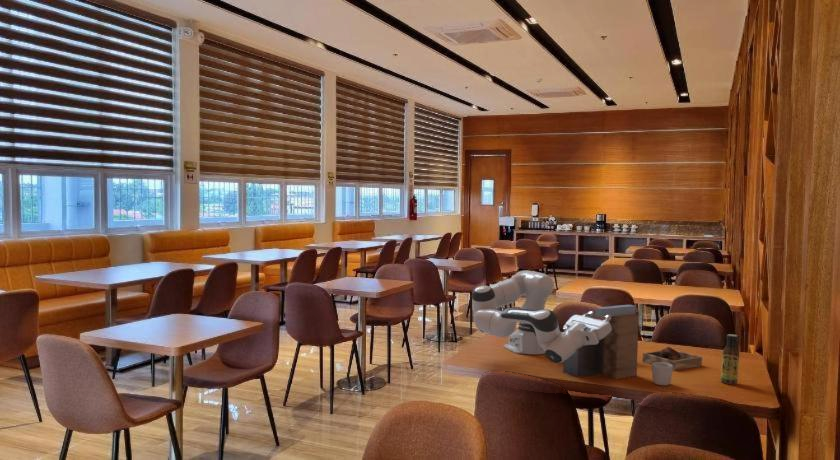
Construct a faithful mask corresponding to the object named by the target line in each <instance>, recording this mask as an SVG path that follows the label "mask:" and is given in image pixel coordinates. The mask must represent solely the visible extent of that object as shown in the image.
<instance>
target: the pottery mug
mask: <svg viewBox="0 0 840 460" xmlns="http://www.w3.org/2000/svg"><path fill="white" fill-rule="evenodd" d="M675 350H676V349H673V348H672V347H671V346H666V347H665V348H663V349H661V350H659V351H660V353H659V355H658V357H661V358H665V359H670V358H669V357H670V353H671V355H673V356H675V357H676V358H678V360H680V357H681V355H680V354H679V353H678V352H677V351H678V350H676V351H675Z"/></svg>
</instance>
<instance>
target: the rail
mask: <svg viewBox="0 0 840 460" xmlns="http://www.w3.org/2000/svg"><path fill="white" fill-rule="evenodd" d="M636 309H637V307H636V305H633V304H621V305H620V304H619V305H612V306H611V305H610V306H600V307H594V317H597V318H605V316H606V315H610V316H611V317H612V316H621V315H631V314H636Z"/></svg>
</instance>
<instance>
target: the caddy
mask: <svg viewBox="0 0 840 460" xmlns="http://www.w3.org/2000/svg"><path fill="white" fill-rule="evenodd" d="M674 350H675V351H677V352H678V353H679V354H680V355H681V357H680V360H678V358H676V357H675V356H673V355H671V353H670V357H669V358H668V359H665V358H661V357H658V355H659V353H660V351H661V350H656V351H650V352H644V353H642V363H645V364H649V365H652V363H654V362H663V363H669V364H671V365H673V369H672V372H674V371H680V370H684V369H691V368H697V367H702V365H703V356H700V355H696V354H692V353H687V352H684V351H679V350H676V349H674Z"/></svg>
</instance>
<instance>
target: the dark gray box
mask: <svg viewBox="0 0 840 460" xmlns="http://www.w3.org/2000/svg"><path fill="white" fill-rule="evenodd" d="M563 332H565V331H564V330H563ZM604 352H605V337H604V338H603V339H601V340H599V343H598V344H596V345H583V346H582V347H581V348H578V349H577V350H576V352H575V353H574V354H573V355H572V356H571V357H569V358H568V359H567V360H565V361H563V362H562V363H563V365H562V373H564V374H566V375H570V376H573V377H576V378H580V377H586V376H592V375H598V374H604Z"/></svg>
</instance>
